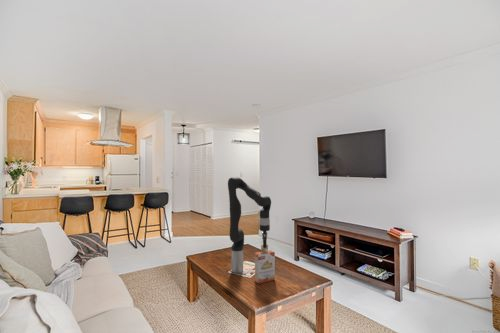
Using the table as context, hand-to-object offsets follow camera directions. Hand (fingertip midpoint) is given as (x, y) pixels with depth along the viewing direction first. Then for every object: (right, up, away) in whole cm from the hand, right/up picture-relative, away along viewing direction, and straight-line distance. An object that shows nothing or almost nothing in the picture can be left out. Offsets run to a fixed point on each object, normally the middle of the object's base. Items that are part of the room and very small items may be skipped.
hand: (264, 245), depth 192 cm
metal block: (0, -5, 0) cm, 5 cm away
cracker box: (0, -26, 0) cm, 26 cm away
